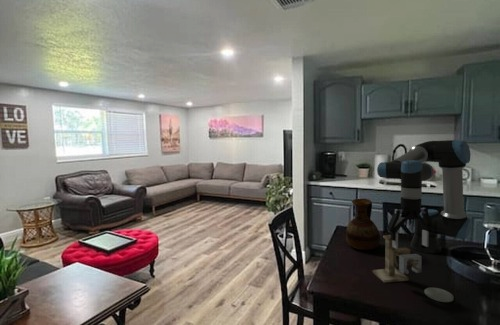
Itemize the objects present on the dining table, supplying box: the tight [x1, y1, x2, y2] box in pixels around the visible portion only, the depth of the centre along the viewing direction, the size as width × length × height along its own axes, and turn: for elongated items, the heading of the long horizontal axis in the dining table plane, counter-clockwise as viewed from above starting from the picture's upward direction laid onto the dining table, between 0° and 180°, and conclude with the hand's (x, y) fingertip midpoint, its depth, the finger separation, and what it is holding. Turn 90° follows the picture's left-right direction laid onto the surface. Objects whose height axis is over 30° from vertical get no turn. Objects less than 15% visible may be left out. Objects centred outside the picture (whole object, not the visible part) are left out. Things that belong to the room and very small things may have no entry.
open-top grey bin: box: [398, 253, 423, 275], centre depth 116 cm, size 8×3×7 cm, turn 96°
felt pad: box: [424, 287, 454, 303], centre depth 114 cm, size 10×10×1 cm
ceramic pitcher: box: [345, 198, 381, 251], centre depth 167 cm, size 20×20×30 cm
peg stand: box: [372, 234, 418, 284], centre depth 124 cm, size 12×22×20 cm, turn 6°
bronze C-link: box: [389, 247, 411, 267], centre depth 123 cm, size 8×3×7 cm, turn 96°
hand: (410, 246), depth 115 cm, fingers open, 13 cm apart
